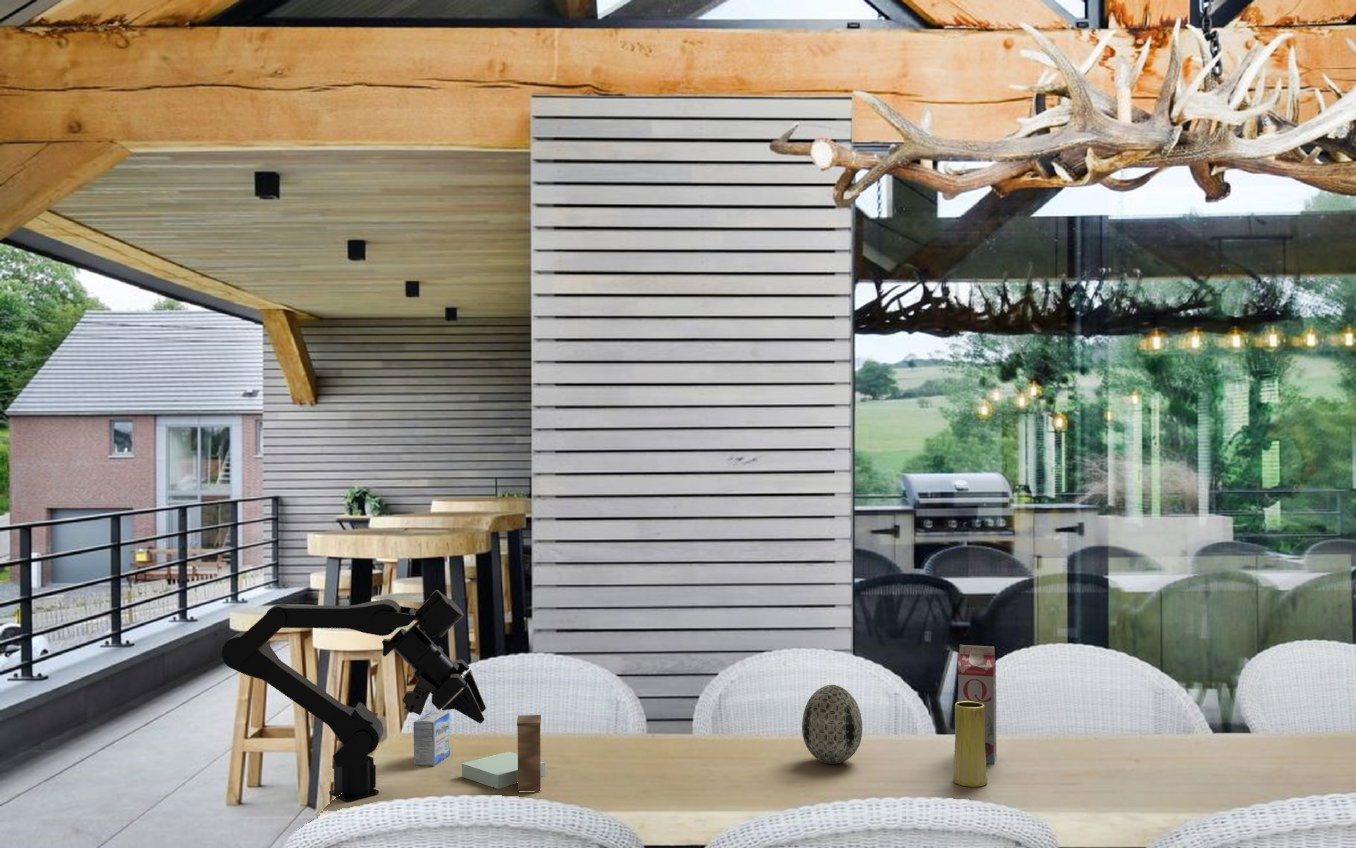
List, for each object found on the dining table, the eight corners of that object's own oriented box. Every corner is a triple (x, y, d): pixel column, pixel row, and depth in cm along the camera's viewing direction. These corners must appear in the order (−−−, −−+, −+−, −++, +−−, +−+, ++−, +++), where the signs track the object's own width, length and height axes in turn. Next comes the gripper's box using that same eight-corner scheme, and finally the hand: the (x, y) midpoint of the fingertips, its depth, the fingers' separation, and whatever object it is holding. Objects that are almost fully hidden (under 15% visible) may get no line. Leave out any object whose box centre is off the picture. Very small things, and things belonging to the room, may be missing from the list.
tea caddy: (517, 793, 210) (516, 723, 210) (518, 783, 216) (517, 715, 216) (540, 792, 210) (540, 722, 210) (541, 782, 216) (540, 714, 216)
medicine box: (434, 766, 227) (434, 722, 227) (413, 765, 228) (413, 721, 228) (450, 755, 235) (450, 712, 235) (429, 754, 235) (429, 711, 235)
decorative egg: (790, 759, 230) (790, 683, 230) (839, 751, 235) (839, 676, 235) (824, 775, 220) (823, 695, 220) (875, 766, 225) (874, 688, 225)
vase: (962, 775, 219) (961, 698, 219) (993, 781, 215) (992, 703, 215) (947, 783, 214) (946, 705, 214) (978, 789, 210) (978, 710, 210)
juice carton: (994, 764, 226) (993, 649, 226) (958, 761, 228) (957, 648, 228) (996, 754, 232) (995, 643, 232) (962, 752, 234) (961, 642, 234)
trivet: (497, 789, 212) (497, 775, 212) (462, 776, 220) (462, 763, 220) (545, 775, 220) (544, 762, 220) (508, 764, 228) (508, 751, 228)
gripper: (395, 677, 220) (453, 735, 221) (383, 698, 201) (447, 761, 202) (438, 635, 221) (496, 693, 222) (431, 651, 202) (494, 715, 204)
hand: (483, 716), depth 212 cm, fingers open, 9 cm apart
